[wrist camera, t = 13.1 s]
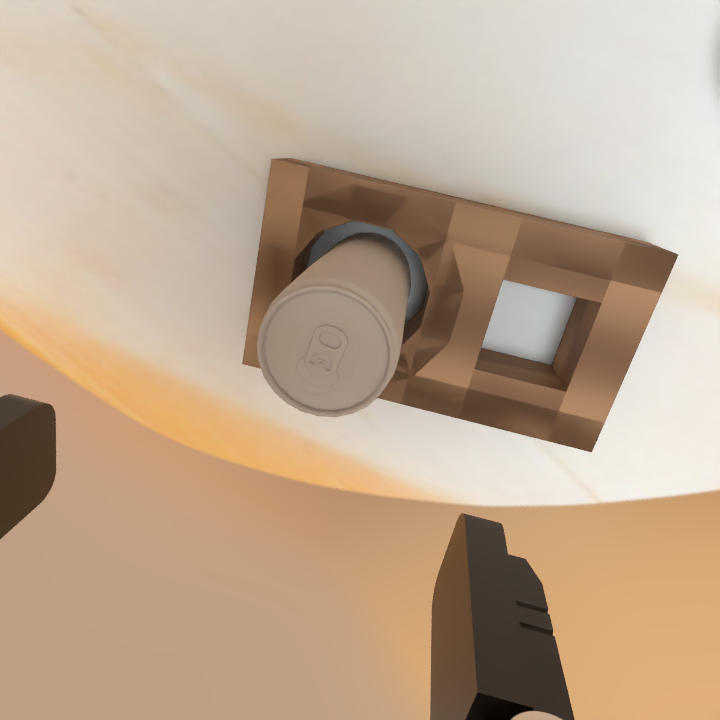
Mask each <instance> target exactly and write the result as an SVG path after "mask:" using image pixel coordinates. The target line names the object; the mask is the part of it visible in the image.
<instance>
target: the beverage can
mask: <svg viewBox="0 0 720 720" xmlns="http://www.w3.org/2000/svg"><path fill="white" fill-rule="evenodd" d="M410 287H411V273H410V269H409V264H408V261H407V259H406V257H405V255H404V253H403V251H402V250H401V249H400V248H399V247H398V246H397V245H396V244H395V243H394V242H393V241H391V240H389V239H388V238H386V237H384V236H381V235H377V234H374V233H360V234H356V235H353V236H350V237H348V238H346V239H344V240H343V241H341V242H339V243H338V244H337V245H336V246H335V247H334V248H332V249H331V250H330V251H329V252H327V253H326V254H325V255H323V256H322V257H321V258H320V259H318V260H317V261H316V262H314V263H313V264H312V265H311V266H310V267H309V268H307V269H306V270H305V271H304V272H303V273H302V274H301V275H300V276H298V277H297V278H296V279H295V280H294V281H293V282H292V283H291V284H289V285H288V286H287V287H286V288H285V289H284V290H283V291H282V292H281V293H280V294H279V295H278V296H277V297H276V298H275V300H274V301H273V302H272V303H271V304H270V306H269V308H268V310H267V312H266V314H265V316H264V318H263V321H262V324H261V326H260V329H259V335H258V340H257V352H258V361H259V364H260V367H261V370H262V372H263V375H264V377H265V379H266V380H267V382H268V383H269V385H270V386H271V388H272V389H273V391H274V392H275V393H276V394H277V395H279V396H280V397H281V398H282V399H283V400H284V401H285V402H286V403H288V404H290V405H291V406H293V407H295V408H297V409H298V410H300V411H302V412H306V413H309V414H313V415H316V416H328V417H337V416H342V415H347V414H352V413H354V412H356V411H358V410H360V409H362V408H365V407H367V406H368V405H369V404H370V403H371V402H373V401H374V400H375V399H376V398H377V397H378V396H379V395H380V394H381V392H382V391H383V390H384V389H385V387H386V386H387V384H388V383H389V381H390V380H391V378H392V377H393V375H394V373H395V370H396V366H397V363H398V359H399V356H400V350H401V345H402V338H403V331H404V323H405V316H406V309H407V304H408V298H409V293H410Z"/></svg>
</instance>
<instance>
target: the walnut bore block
mask: <svg viewBox="0 0 720 720" xmlns="http://www.w3.org/2000/svg"><path fill="white" fill-rule="evenodd" d="M354 220H355V221H359V222H363V223H367V224H372V225H376V226H380V227H384V228H388V229H392V230H393V231H394V232H395V233H396V234H397V235H398V236H399V237H400V238H402V239H403V240H404V241H405V242H406V243H407V244H408V245H409V246H410V247H411V248H412V249H413V250H414V251H415V252H416V253H417V254H418V255H419V256H420V258H421V262H422V265H423V269H424V272H425V276H426V279H427V283H428V289H427V293H426V296H425V300H424V304H423V307H422V309H421V310H420V311H419V312H418V313H417V314H416V315H415V316H414V317H413V318H412V319H411V320H410V321H409V322H408V323H407V324H406V325H405V326H404V331H403V338H402V345H401V350H400V356H399V359H398V363H397V366H396V370H395V373H394V375H393V377H392V378H391V380H390V381H389V383H388V384H387V386H386V387H385V389H384V390H383V391H382V392H381V394H380V395H379V396H378V397H377V398H380V399H384V400H388V401H392V402H395V403H399V404H403V405H407V406H411V407H415V408H419V409H423V410H427V411H431V412H435V413H439V414H443V415H447V416H451V417H455V418H459V419H463V420H467V421H470V422H474V423H478V424H482V425H486V426H490V427H494V428H498V429H502V430H506V431H510V432H514V433H518V434H522V435H526V436H530V437H534V438H538V439H542V440H545V441H549V442H553V443H557V444H561V445H565V446H569V447H573V448H577V449H581V450H585V451H589V452H592V450H593V448H594V446H595V443H596V441H597V439H598V437H599V434H600V432H601V430H602V427H603V425H604V423H605V421H606V418H607V416H608V414H609V411H610V409H611V407H612V405H613V402H614V400H615V398H616V396H617V393H618V391H619V389H620V386H621V384H622V382H623V380H624V377H625V375H626V373H627V371H628V368H629V366H630V364H631V361H632V359H633V357H634V355H635V352H636V350H637V348H638V345H639V343H640V341H641V339H642V336H643V334H644V332H645V330H646V327H647V325H648V323H649V320H650V318H651V316H652V314H653V311H654V309H655V307H656V305H657V302H658V300H659V298H660V295H661V293H662V291H663V289H664V286H665V284H666V282H667V279H668V277H669V275H670V273H671V270H672V268H673V266H674V264H675V261H676V259H677V257H678V254H675V253H673V252H670V251H668V250H665V249H663V248H661V247H658V246H656V245H653V244H651V243H648V242H644V241H640V240H636V239H631V238H627V237H623V236H619V235H614V234H610V233H606V232H602V231H597V230H593V229H589V228H585V227H580V226H576V225H572V224H568V223H563V222H559V221H555V220H551V219H546V218H542V217H538V216H534V215H529V214H525V213H521V212H517V211H512V210H508V209H504V208H500V207H495V206H491V205H487V204H483V203H478V202H474V201H470V200H466V199H462V198H457V197H453V196H449V195H445V194H440V193H436V192H432V191H428V190H423V189H419V188H415V187H411V186H406V185H402V184H398V183H394V182H389V181H385V180H381V179H377V178H372V177H368V176H364V175H360V174H355V173H351V172H347V171H343V170H338V169H334V168H330V167H326V166H321V165H317V164H313V163H309V162H304V161H300V160H296V159H292V158H289V159H272V161H271V168H270V175H269V182H268V189H267V195H266V202H265V209H264V216H263V223H262V230H261V237H260V244H259V251H258V258H257V265H256V272H255V279H254V286H253V293H252V300H251V307H250V314H249V321H248V328H247V335H246V342H245V349H244V356H243V363H242V364H246V365H249V366H253V367H257V368H261V367H260V364H259V361H258V352H257V340H258V335H259V329H260V326H261V324H262V321H263V318H264V316H265V314H266V312H267V310H268V308H269V306H270V304H271V303H272V302H273V301H274V300H275V298H276V297H277V296H278V295H279V294H280V293H281V292H282V291H283V290H284V289H285V288H286V287H287V286H288V285H289V284H291V283H292V282H293V281H294V280H295V279H296V278H297V277H298V276H300V275H301V274H302V273H303V272H304V271H305V270H306V269H307V265H308V259H309V254H310V248H311V247H312V245H313V244H314V243H315V242H316V241H317V240H318V239H319V237H320V236H321V235H322V234H323V233H324V232H325V230H326V229H329V228H332V227H335V226H338V225H342V224H345V223H348V222H351V221H354ZM503 279H504V280H508V281H512V282H516V283H521V284H525V285H529V286H533V287H537V288H541V289H545V290H550V291H554V292H558V293H562V294H566V295H570V296H574V297H578V298H577V300H576V303H575V306H574V308H573V311H572V313H571V316H570V319H569V321H568V324H567V327H566V329H565V332H564V335H563V337H562V340H561V342H560V345H559V348H558V350H557V353H556V356H555V358H554V361H553V363H552V365H548V364H543V363H539V362H535V361H531V360H527V359H523V358H519V357H515V356H511V355H507V354H503V353H499V352H495V351H491V350H487V349H483V348H481V346H482V343H483V340H484V337H485V334H486V331H487V328H488V324H489V321H490V318H491V315H492V312H493V309H494V306H495V303H496V300H497V296H498V293H499V290H500V287H501V284H502V281H503Z"/></svg>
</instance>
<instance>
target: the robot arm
mask: <svg viewBox="0 0 720 720" xmlns="http://www.w3.org/2000/svg"><path fill="white" fill-rule="evenodd" d="M55 421H56V419H55V411H54V408H53V407H52V406H51V405H50V404H47V403H43V402H39V401H36V400H32V399H28V398H24V397H20V396H17V395H12V394H8V395H5V396H2V397H0V539H1V538H2V537H3V536H4V535H5V534H7V533H8V532H9V531H10V530H11V529H12V528H13V527H14V526H16V525H17V524H18V523H19V522H20V521H21V520H22V519H23V518H24V517H25V516H27V515H28V514H29V513H30V512H31V511H32V510H33V509H34V508H36V507H37V506H38V505H39V504H40V503H41V502H42V501H43V500H44V499H45V497H46V496H47V494H48V493H49V491H50V489H51V487H52V485H53V482H54V479H55V474H56V422H55ZM547 612H548V607H547V603H546V598H545V594H544V590H543V585H542V583H541V582H540V580H539V578H538V577H537V575H536V574H535V573H534V571H533V569H532V568H531V566H530V565H529V563H528V562H527V560H526V559H524V558H520V557H516V556H512V555H509V554H508V553H507V546H506V541H505V535H504V529H503V526H502V524H501V523H498V522H494V521H490V520H486V519H482V518H479V517H475V516H471V515H467V514H461V515H460V516H459V518H458V520H457V522H456V525H455V528H454V531H453V534H452V537H451V539H450V542H449V545H448V548H447V551H446V553H445V556H444V559H443V562H442V565H441V568H440V570H439V573H438V577H437V580H436V585H435V589H434V595H433V602H432V640H431V642H432V643H431V716H430V720H574V716H573V711H572V707H571V704H570V699H569V695H568V690H567V686H566V682H565V678H564V674H563V669H562V666H561V661H560V657H559V653H558V648H557V644H556V640H555V637H554V636H553V627H552V624H551V619H550V615H549V614H548V613H547Z"/></svg>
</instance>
